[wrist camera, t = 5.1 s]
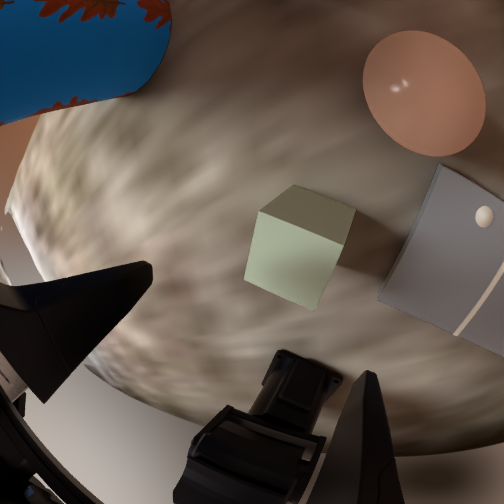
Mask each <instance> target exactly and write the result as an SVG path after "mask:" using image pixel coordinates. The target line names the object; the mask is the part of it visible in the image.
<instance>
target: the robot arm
mask: <svg viewBox="0 0 504 504" xmlns="http://www.w3.org/2000/svg"><path fill="white" fill-rule="evenodd" d="M152 282H153V269H152V265H151V264H150V263H148V262H146V261H138V262H134V263H129V264H125V265H120V266H116V267H111V268H107V269H102V270H98V271H93V272H89V273H84V274H80V275H75V276H71V277H68V278H62V279H58V280H53V281H48V282H43V283H36V284H29V285H22V286H9V285H6V284H3V283H1V282H0V504H64V503H63V502H62V501H61V500H59V498H58V497H57V496H55V494H54V493H53V492H52V491H51V490H50V489H47V488H45V486H44V485H43V484H42V483H41V482H40V481H39V480H38V479H37V478H35V477H34V476H33V475H34V474H35V473H37V474H38V475H39V476H40V477H41V478H42V479H43V481H44V482H45V483H46V484H47V485H48V486H49V487H50V488H51V489H52V490H53V491H54V492H55V493H56V494H57V495H58V496H59V497H60V498H61V499H62V500H63V501H64V502H65V503H66V504H104V503H103V502H102V501H100V500H99V499H98V498H96V496H94V495H93V494H92V493H91V492H90V491H89V490H87V489H86V488H85V487H84V486H83V485H82V484H81V483H80V482H79V481H78V480H77V479H75V478H74V477H73V476H72V475H71V474H70V473H69V472H68V471H67V470H66V469H65V468H64V467H63V466H62V465H61V463H60V462H59V461H58V460H57V459H56V458H55V457H54V456H53V455H52V454H51V453H50V452H49V450H48V449H47V448H46V447H45V446H44V445H43V443H42V442H41V441H40V440H39V439H38V437H37V436H36V435H35V434H34V432H33V431H32V430H31V429H30V427H29V426H28V425H27V423H26V422H25V421H24V419H23V417H24V416H25V401H26V393H25V391H26V390H27V389H28V388H30V390H31V391H32V392H33V393H34V394H35V395H36V396H37V397H38V398H39V400H41V402H42V403H43V404H45V403H46V402H47V401H48V399H49V398H50V397H51V396H52V395H53V394H54V392H55V391H56V390H57V389H58V388H59V387H60V386H61V384H62V383H63V382H64V381H65V380H66V379H67V378H68V377H69V376H70V374H71V373H72V372H73V371H74V370H75V369H76V368H77V367H78V365H79V364H80V363H81V362H82V361H83V360H84V359H85V358H86V357H87V356H88V355H89V354H90V352H91V351H92V350H93V349H94V348H95V347H96V346H97V345H98V344H99V343H100V342H101V341H102V340H103V339H104V338H105V336H106V335H107V334H108V333H109V332H110V331H111V330H112V329H113V328H114V327H115V326H116V325H117V324H118V323H119V322H120V321H121V320H122V319H123V318H124V317H125V316H126V315H127V314H128V313H129V311H130V310H131V309H132V308H133V307H134V306H135V304H136V303H137V302H138V301H139V299H140V298H141V297H142V296H143V294H144V293H145V292H146V291H147V289H148V288H149V287H150V286H151V284H152ZM342 381H343V377H342V376H340V375H338V374H335V373H333V372H330V371H328V370H326V369H323V368H321V367H319V366H316V365H314V364H312V363H310V362H307V361H305V360H303V359H301V358H298V357H296V356H294V355H292V354H290V353H288V352H285V351H283V350H278V351H277V352H276V354H275V356H274V358H273V360H272V362H271V365H270V367H269V369H268V371H267V373H266V375H265V377H264V380H263V382H262V386H264V387H263V388H262V390H261V392H260V393H259V395H258V397H257V399H256V400H255V402H254V404H253V405H252V407H251V409H250V410H249V412H248V414H247V413H245V412H242V411H240V410H237V409H235V408H234V407H232V406H230V405H227V406H226V407H225V408H224V409H223V410H222V411H220V412H219V413H218V414H217V415H216V416H215V417H214V418H213V419H212V420H211V421H210V422H209V423H208V424H207V425H206V426H205V427H204V428H203V429H202V430H201V431H200V432H199V433H198V434H197V435H196V436H195V437H194V438H193V440H192V441H191V446H190V448H189V452H188V456H187V459H188V460H187V464H186V467H185V470H184V472H183V475H182V477H181V478H180V480H179V482H178V484H177V485H176V487H175V489H174V490H173V503H174V504H298V503H299V501H300V499H301V497H302V495H303V493H304V491H305V489H306V487H307V485H308V483H309V481H310V478H311V476H312V474H313V471H314V469H315V466H316V464H317V462H318V459H319V457H320V454H321V452H322V449H323V446H324V444H325V441H326V438H327V437H324V436H316V435H312V431H313V429H314V426H315V424H316V421H317V419H318V416H319V414H320V411H321V409H322V406H323V403H324V402H325V401H326V400H327V399H328V398H329V397H330V396H331V395H332V394H333V393H334V392H335V390H336V389H337V388H338V387H339V386H340V385H341V384H342ZM302 457H303V458H307V459H310V461H306V460H302V459H301V458H302ZM394 457H395V455H394V449H393V444H392V439H391V434H390V429H389V424H388V419H387V415H386V410H385V406H384V402H383V398H382V393H381V389H380V385H379V381H378V378H377V375H376V373H374V372H371V371H369V370H366V371H364V372H363V374H362V375H361V376H360V377H359V378H358V379H357V380H356V381H355V383H354V385H353V387H352V389H351V392H350V394H349V397H348V399H347V401H346V404H345V406H344V408H343V411H342V413H341V415H340V418H339V420H338V423H337V425H336V428H335V431H334V434H333V437H332V440H331V443H330V446H329V449H328V452H327V454H326V457H325V460H324V462H323V465H322V468H321V470H320V472H319V475H318V478H317V480H316V482H315V485H314V487H313V489H312V492H311V494H310V496H309V498H308V501H307V503H306V504H405V502H404V498H403V494H402V490H401V486H400V482H399V477H398V472H397V467H396V460H395V458H394Z"/></svg>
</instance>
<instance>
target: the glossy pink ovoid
mask: <svg viewBox="0 0 504 504" xmlns="http://www.w3.org/2000/svg"><path fill="white" fill-rule="evenodd" d="M363 89H364V94H365V99H366V101H367V104H368V107H369V109H370V111H371V113H372V115H373V117H374V118H375V120H376V121H377V123H378V124H379V125H380V127H381V128H382V129H383V130H384V131H385V132H386V133H387V134H388V135H389V136H390V137H391V138H392V139H393V140H394V141H396V142H397V143H399V144H400V145H402V146H403V147H405V148H407V149H409V150H411V151H413V152H416V153H419V154H423V155H427V156H447V155H452V154H455V153H457V152H459V151H462V150H463V149H465V148H466V147H468V146H469V145H470V144H471V143H472V142H473V141H474V140H475V139H476V137H477V136H478V134H479V132H480V130H481V129H482V126H483V123H484V119H485V114H486V99H485V93H484V88H483V85H482V82H481V80H480V77H479V75H478V73H477V71H476V70H475V68H474V66H473V65H472V63H471V62H470V61H469V59H468V58H467V57H466V56H465V55H464V54H463V53H462V52H461V51H460V50H459V49H458V48H457V47H455V46H454V45H453V44H451V43H450V42H448V41H447V40H445V39H443V38H441V37H439V36H437V35H434V34H431V33H428V32H424V31H416V30H406V31H400V32H396V33H393V34H391V35H389V36H387V37H385V38H383V39H382V40H381V41H379V42H378V43H377V44H376V45H375V46H374V48H373V49H372V50H371V52H370V53H369V55H368V57H367V59H366V63H365V66H364V71H363Z"/></svg>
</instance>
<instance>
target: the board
mask: <svg viewBox="0 0 504 504" xmlns="http://www.w3.org/2000/svg"><path fill="white" fill-rule="evenodd" d="M378 301H380V302H383V303H385V304H387V305H389V306H392V307H394V308H396V309H398V310H401V311H403V312H405V313H407V314H410V315H412V316H414V317H416V318H419V319H421V320H423V321H425V322H428V323H430V324H432V325H434V326H437V327H439V328H441V329H443V330H446V331H448V332H450V333H452V334H453V335H455V336H459V337H461V338H463V339H466V340H468V341H470V342H472V343H474V344H477V345H479V346H481V347H483V348H486V349H488V350H490V351H492V352H494V353H497V354H499V355H501V356H503V357H504V201H503V200H501V199H500V198H498V197H497V196H495V195H494V194H492V193H491V192H489V191H487V190H486V189H484V188H483V187H481V186H479V185H478V184H476V183H475V182H473V181H471V180H469V179H468V178H466V177H464V176H463V175H461V174H459V173H457V172H455V171H454V170H452V169H450V168H448V167H446V166H444V165H442V164H440V163H438V166H437V169H436V172H435V174H434V177H433V179H432V182H431V185H430V187H429V190H428V192H427V195H426V197H425V199H424V202H423V204H422V206H421V209H420V211H419V213H418V216H417V218H416V220H415V222H414V224H413V226H412V229H411V231H410V233H409V235H408V237H407V239H406V241H405V243H404V245H403V247H402V249H401V251H400V253H399V255H398V257H397V259H396V261H395V263H394V265H393V266H392V268H391V270H390V272H389V274H388V276H387V277H386V279H385V281H384V283H383V285H382V286H381V288H380V290H379V293H378Z"/></svg>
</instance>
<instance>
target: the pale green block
mask: <svg viewBox="0 0 504 504" xmlns="http://www.w3.org/2000/svg"><path fill="white" fill-rule="evenodd" d="M355 211H356V209H355V208H352V207H350V206H348V205H345V204H343V203H340V202H338V201H335V200H333V199H330V198H328V197H325V196H322V195H320V194H317V193H315V192H312V191H309V190H307V189H304V188H301V187H299V186H296V185H292V186H291V187H289V188H288V189H287V190H286V191H284V192H283V193H282V194H280V195H279V196H278V197H276V198H275V199H274V200H273V201H271V202H270V203H269V204H267V205H266V206H265V207H263V208H262V209H261V210H260V211H259V213H258V217H257V222H256V226H255V231H254V235H253V240H252V244H251V249H250V253H249V258H248V262H247V267H246V271H245V276H244V280H246V281H248V282H250V283H253V284H255V285H257V286H259V287H261V288H263V289H265V290H268V291H270V292H272V293H274V294H276V295H278V296H281V297H283V298H285V299H287V300H289V301H291V302H294V303H296V304H298V305H300V306H303V307H305V308H307V309H309V310H311V311H315V309H316V307H317V305H318V303H319V301H320V298H321V296H322V294H323V292H324V290H325V288H326V285H327V283H328V281H329V279H330V277H331V274H332V272H333V270H334V268H335V265H336V263H337V261H338V258H339V256H340V254H341V251H342V249H343V247H344V244H345V241H346V238H347V235H348V232H349V230H350V227H351V224H352V221H353V218H354V214H355Z"/></svg>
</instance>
